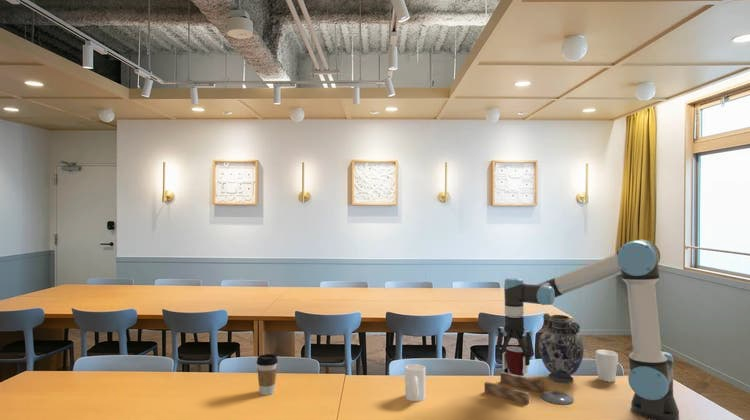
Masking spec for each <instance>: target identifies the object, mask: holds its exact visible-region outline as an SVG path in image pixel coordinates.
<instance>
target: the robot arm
mask: <svg viewBox="0 0 750 420" xmlns="http://www.w3.org/2000/svg"><path fill="white" fill-rule="evenodd" d="M660 260H661V252H660V249H659V248H658V246H657V245H656V244H654V243H653V242H652V241H650V240H647V239H635V240H631V241H628V242H625V243H624V244H622V246H621V247H620V248H619V249H618V250H616V251H615V252H614V254H612V255H610V256H607V257H605V258H602V259H600V260H596V261H595V262H594V261H593V262H592V263H589V264H586V265H584V266H582V267H579V268H577V269H574V270H572V271H569V272H565V273H564V274H562V275H559V276H556V277H553V278H551V279H549V280H545V281H542V282H540V283H538V284H527V283H525V282H524V280H523V278H521V277H520V278H519V277H508V278H506V279H504V289H503V290H504V291H503V292H504V315H505V316H504V326H503V327H502V326H499V327H497V341H496V347H495V350H496V351H498V352H499V353H500V361H501V362H502V370H506V369H507V368H508V366H507V360H506V347H508V345H509V343H510V340H511V339H515V340H517V342H518V344H519V347H521V348H522V351H523V353H524V356H525V357H523V370H522V374H523V375H526V374H527V373H528V366H530V363H531V362H530V358H532V357H534V356H535V352H534V351H535V350H534V344H533V341H532V334H533V333H532V331H531V330H526V329H525V324H524V323H525V322H524V321H525V320H524V314H525V313H524V303H528V304H535V305H541V306H548V305H549V306H552V305H553V304H554V302H555V300H556V299H555V298H558V297H561V296H563V295H565V294H569V293H572V292H574V291H577V290H579V289H582V288H585V287H588V286H590V285H593V284H597V283H600V282H602V281H604V280H608V279H611V278H613V277H617V276H618V275H621V280H622V281H623V282H625V284H626V287H627V301H628V308H629V309H628V311H629V319H630V331H631V333H630V334H631V342H632V343H631V344H632V351H631V352H630V354H629V355H628V362H629V364H628V365H629V373H628V377H627V378H628V379H627V380H628V384H629V387H630V389H631V390H632V391H633V392H634V394H633V396H632V400H631V403H630V409H631V410H632V412H634V413H635V414H636V415H638V416H640V417H643V418H646V419H648V420H679V419H680V410H679V407H678V405H677V402H676V399H675V396H674V364H675V361H674V356H673V355H672V354H671V353H670V352H667V351H662V344H661V343H662V342H661V333H660V332H661V331H660V323H659V321H660V320H659V313H658V312H659V311H658V303H657V302H658V301H657V292H656V283H657V282H658V281H659V280H660V271H659V270H660V269H659V263H660ZM504 332H505V334H506V335H505V338H504ZM523 335H524V336H525V339H526V341H525V339H524V336H523ZM503 339H504V341H503Z"/></svg>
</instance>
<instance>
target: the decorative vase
mask: <svg viewBox="0 0 750 420" xmlns="http://www.w3.org/2000/svg"><path fill="white" fill-rule="evenodd" d="M542 316H543V318H542V319H543V322H544V324H545V329H544V331H543V332H542V333H541V334H540V335H539V339H538V351H539V355H540V356H539V357H540V359H541V360H542V363H543V366H545V369H546V370H547V371H548V372H550V373H549V374H548V375H547V377H548V380H550V381H551V382H552V381H553V382H555V383H560V384H570V383H573V382H574V381H575V379H574V377H573V374H575V373H576V372H577V371H578V370H579V369H580V366H581V364H582V362H583V358H584V343H583V339H582V338H581V336H580V335H579V334H578V333H580V330H581V327H580V324H579V323H577V322H576V321H573V320H572V319H570V317H569V316H568V315H563V314H552V315H550V313H544V314H543V315H542Z"/></svg>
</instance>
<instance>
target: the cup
mask: <svg viewBox="0 0 750 420" xmlns="http://www.w3.org/2000/svg"><path fill="white" fill-rule="evenodd" d="M594 358H595V364H596V372H597V377H598V379H599V380H601V381H602V380H603V382H606V381H608V382H607V383H613V382H615V381H616V377H617V376H616V375H617V370H618V369H617V368H618V363H619V355H618V353H617V352H616V351H613V350H608V349H597V350H595V357H594Z"/></svg>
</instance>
